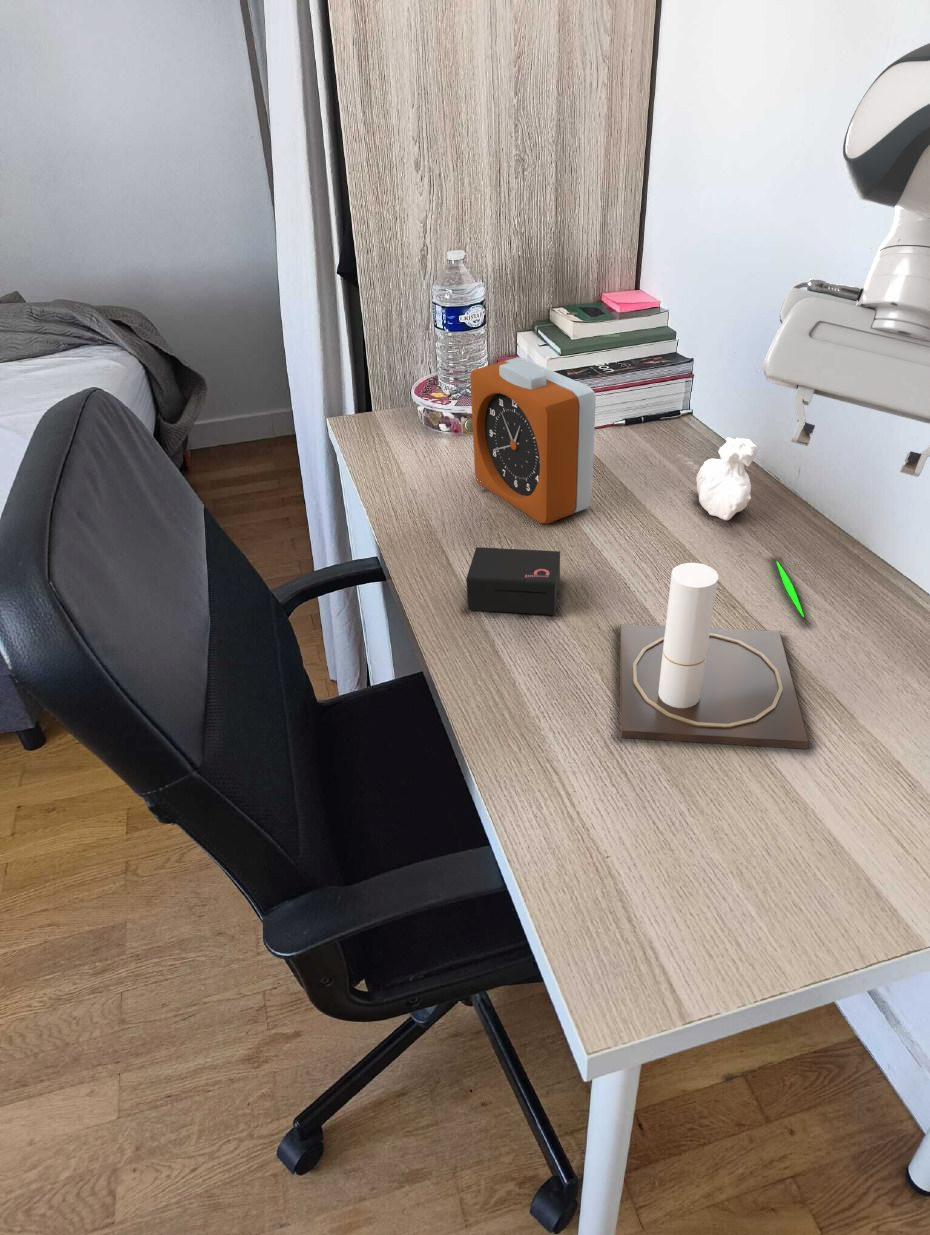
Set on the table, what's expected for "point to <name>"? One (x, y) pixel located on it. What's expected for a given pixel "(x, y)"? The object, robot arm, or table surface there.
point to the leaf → (790, 588)
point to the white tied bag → (726, 479)
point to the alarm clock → (533, 438)
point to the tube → (687, 633)
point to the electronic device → (514, 580)
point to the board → (713, 691)
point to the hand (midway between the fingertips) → (853, 458)
